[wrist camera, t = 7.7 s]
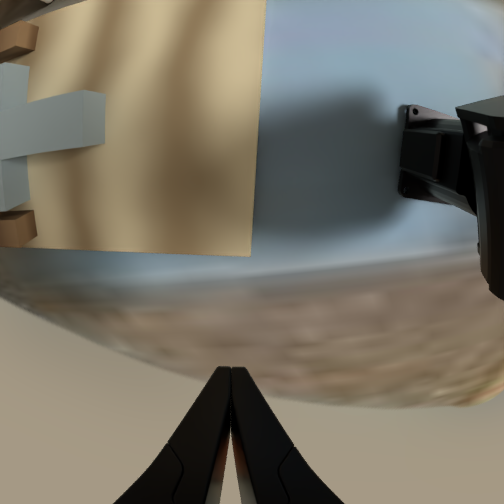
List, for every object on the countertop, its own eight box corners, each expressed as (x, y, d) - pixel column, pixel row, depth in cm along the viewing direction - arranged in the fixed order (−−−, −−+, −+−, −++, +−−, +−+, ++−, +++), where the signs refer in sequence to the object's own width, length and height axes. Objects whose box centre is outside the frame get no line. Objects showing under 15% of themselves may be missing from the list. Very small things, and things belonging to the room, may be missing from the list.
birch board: (266, -12, 13) (270, -33, 10) (250, 253, 20) (252, 273, 17) (-6, 39, 12) (-28, 35, 9) (-3, 243, 19) (-24, 257, 16)
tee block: (109, 45, 14) (89, 33, 11) (107, 195, 18) (86, 207, 15) (1, 77, 13) (-24, 75, 10) (3, 201, 17) (-21, 213, 14)
